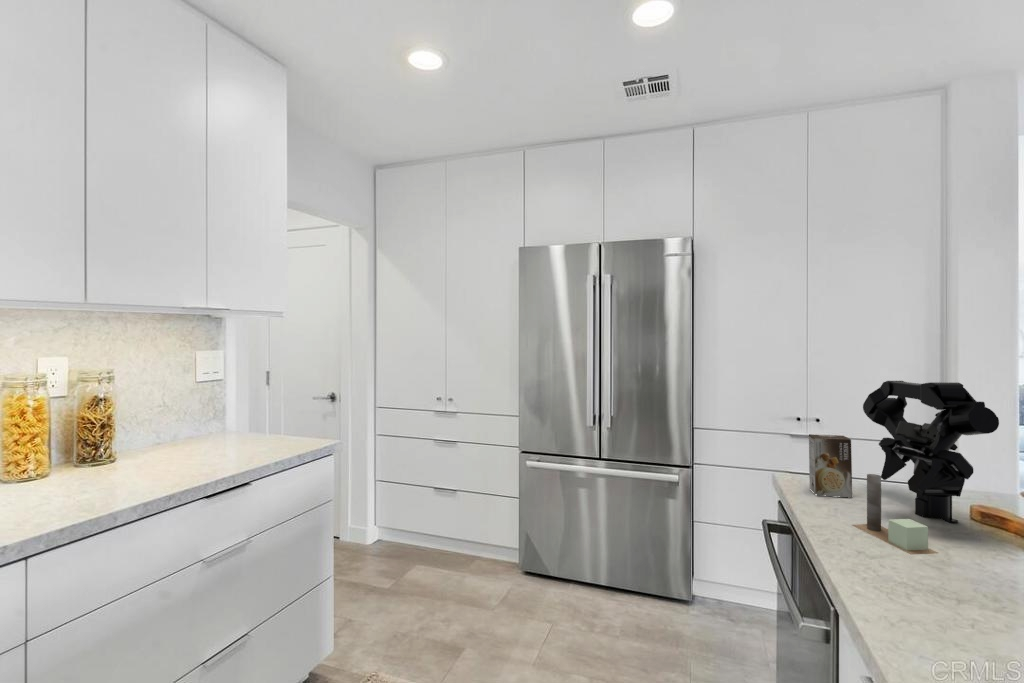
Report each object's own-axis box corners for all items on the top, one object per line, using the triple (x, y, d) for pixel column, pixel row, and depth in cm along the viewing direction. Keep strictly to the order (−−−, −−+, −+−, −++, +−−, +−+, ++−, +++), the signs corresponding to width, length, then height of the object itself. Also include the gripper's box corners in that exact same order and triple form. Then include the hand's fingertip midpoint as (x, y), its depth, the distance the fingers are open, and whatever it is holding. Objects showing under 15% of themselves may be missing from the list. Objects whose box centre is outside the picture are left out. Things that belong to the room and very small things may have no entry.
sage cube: (908, 540, 109) (908, 518, 109) (928, 549, 104) (928, 526, 104) (888, 541, 109) (888, 519, 109) (906, 550, 104) (906, 527, 104)
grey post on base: (876, 528, 119) (876, 471, 119) (939, 557, 103) (939, 492, 103) (851, 529, 118) (851, 472, 118) (910, 559, 102) (910, 493, 102)
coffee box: (845, 492, 146) (845, 435, 146) (852, 498, 140) (852, 439, 140) (808, 489, 149) (808, 433, 148) (814, 496, 142) (814, 437, 142)
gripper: (885, 404, 127) (844, 451, 125) (961, 415, 108) (915, 470, 107) (913, 435, 128) (874, 482, 126) (994, 451, 109) (949, 506, 108)
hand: (900, 484), depth 117 cm, fingers open, 9 cm apart
